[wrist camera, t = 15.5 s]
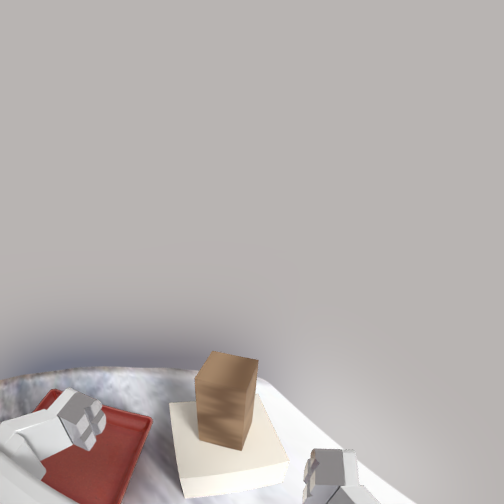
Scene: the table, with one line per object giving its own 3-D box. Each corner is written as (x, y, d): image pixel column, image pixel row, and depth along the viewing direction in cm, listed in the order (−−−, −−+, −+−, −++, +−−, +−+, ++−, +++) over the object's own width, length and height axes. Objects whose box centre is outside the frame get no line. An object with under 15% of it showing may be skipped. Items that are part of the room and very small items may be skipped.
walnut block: (199, 440, 29) (194, 378, 26) (213, 412, 33) (212, 350, 31) (241, 451, 28) (246, 390, 25) (252, 421, 32) (258, 360, 30)
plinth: (185, 499, 25) (179, 478, 23) (173, 429, 36) (168, 402, 34) (282, 483, 28) (289, 460, 27) (254, 420, 39) (257, 393, 38)
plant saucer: (4, 475, 19) (-7, 462, 18) (57, 400, 36) (51, 386, 35) (120, 534, 18) (111, 526, 17) (158, 431, 35) (155, 417, 34)
